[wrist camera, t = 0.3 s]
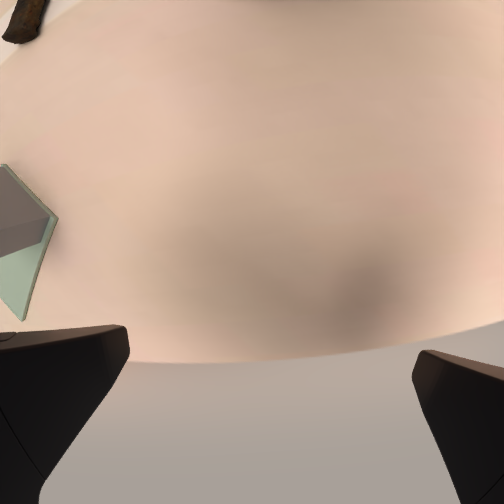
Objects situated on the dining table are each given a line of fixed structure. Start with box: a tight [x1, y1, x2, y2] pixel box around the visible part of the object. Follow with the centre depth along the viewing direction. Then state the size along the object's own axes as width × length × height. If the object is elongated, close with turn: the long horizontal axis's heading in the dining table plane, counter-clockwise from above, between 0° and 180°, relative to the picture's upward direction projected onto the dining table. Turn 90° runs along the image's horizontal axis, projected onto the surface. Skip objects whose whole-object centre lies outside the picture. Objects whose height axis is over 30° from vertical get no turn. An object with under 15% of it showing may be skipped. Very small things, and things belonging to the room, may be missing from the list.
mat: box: [0, 164, 58, 322], centre depth 24 cm, size 14×10×1 cm
